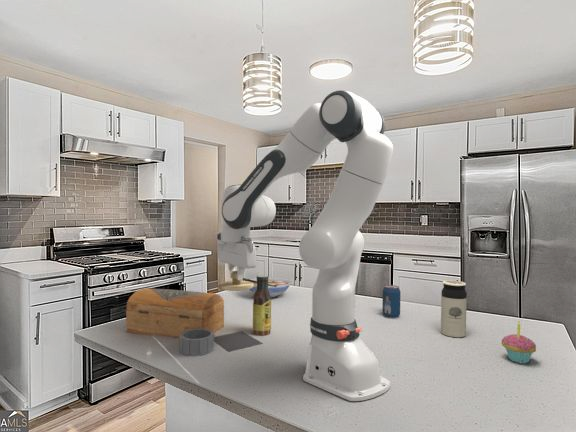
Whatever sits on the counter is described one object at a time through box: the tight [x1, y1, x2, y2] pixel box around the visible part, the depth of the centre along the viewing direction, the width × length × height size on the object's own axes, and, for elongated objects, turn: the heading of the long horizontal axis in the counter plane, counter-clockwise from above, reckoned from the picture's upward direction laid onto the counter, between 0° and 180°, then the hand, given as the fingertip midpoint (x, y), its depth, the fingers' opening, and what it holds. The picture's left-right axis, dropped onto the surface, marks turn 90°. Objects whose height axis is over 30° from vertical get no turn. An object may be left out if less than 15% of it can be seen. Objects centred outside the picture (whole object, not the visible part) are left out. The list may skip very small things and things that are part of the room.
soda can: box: [381, 284, 401, 319], centre depth 150 cm, size 7×7×12 cm
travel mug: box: [440, 280, 468, 339], centre depth 129 cm, size 8×8×18 cm
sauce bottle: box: [252, 274, 272, 337], centre depth 128 cm, size 6×6×20 cm
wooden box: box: [125, 287, 225, 339], centre depth 131 cm, size 30×16×14 cm, turn 73°
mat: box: [214, 330, 264, 353], centre depth 120 cm, size 14×12×1 cm
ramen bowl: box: [242, 276, 292, 299], centre depth 181 cm, size 25×23×8 cm
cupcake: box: [500, 322, 537, 364], centre depth 107 cm, size 9×8×12 cm
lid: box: [218, 270, 254, 292], centre depth 119 cm, size 11×11×5 cm
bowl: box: [178, 329, 215, 357], centre depth 112 cm, size 10×10×5 cm
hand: (236, 279), depth 119 cm, fingers closed on lid, 3 cm apart
